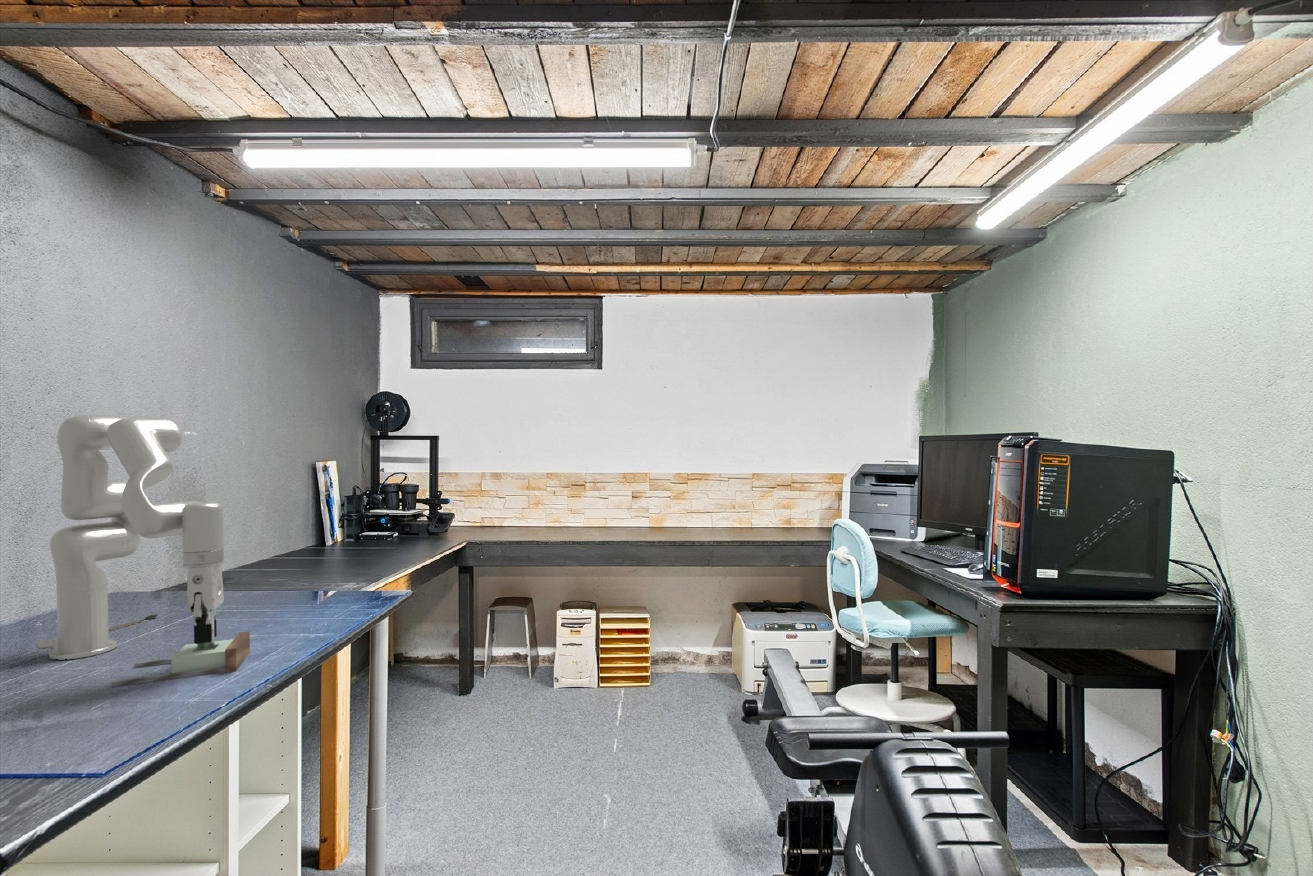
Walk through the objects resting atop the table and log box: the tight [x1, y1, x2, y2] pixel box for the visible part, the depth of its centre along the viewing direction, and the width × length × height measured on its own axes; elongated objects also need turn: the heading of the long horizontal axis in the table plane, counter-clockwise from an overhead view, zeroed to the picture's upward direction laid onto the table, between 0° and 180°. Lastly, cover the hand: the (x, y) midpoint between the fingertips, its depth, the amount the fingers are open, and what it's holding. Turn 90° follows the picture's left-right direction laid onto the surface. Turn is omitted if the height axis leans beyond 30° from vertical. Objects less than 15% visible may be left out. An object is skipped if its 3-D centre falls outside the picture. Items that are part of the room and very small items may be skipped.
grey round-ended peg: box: [197, 608, 216, 650], centre depth 145 cm, size 3×3×10 cm
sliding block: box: [171, 638, 235, 674], centre depth 145 cm, size 10×10×4 cm
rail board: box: [111, 631, 251, 688], centre depth 143 cm, size 26×14×6 cm, turn 112°
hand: (205, 639), depth 145 cm, fingers closed on grey round-ended peg, 3 cm apart
